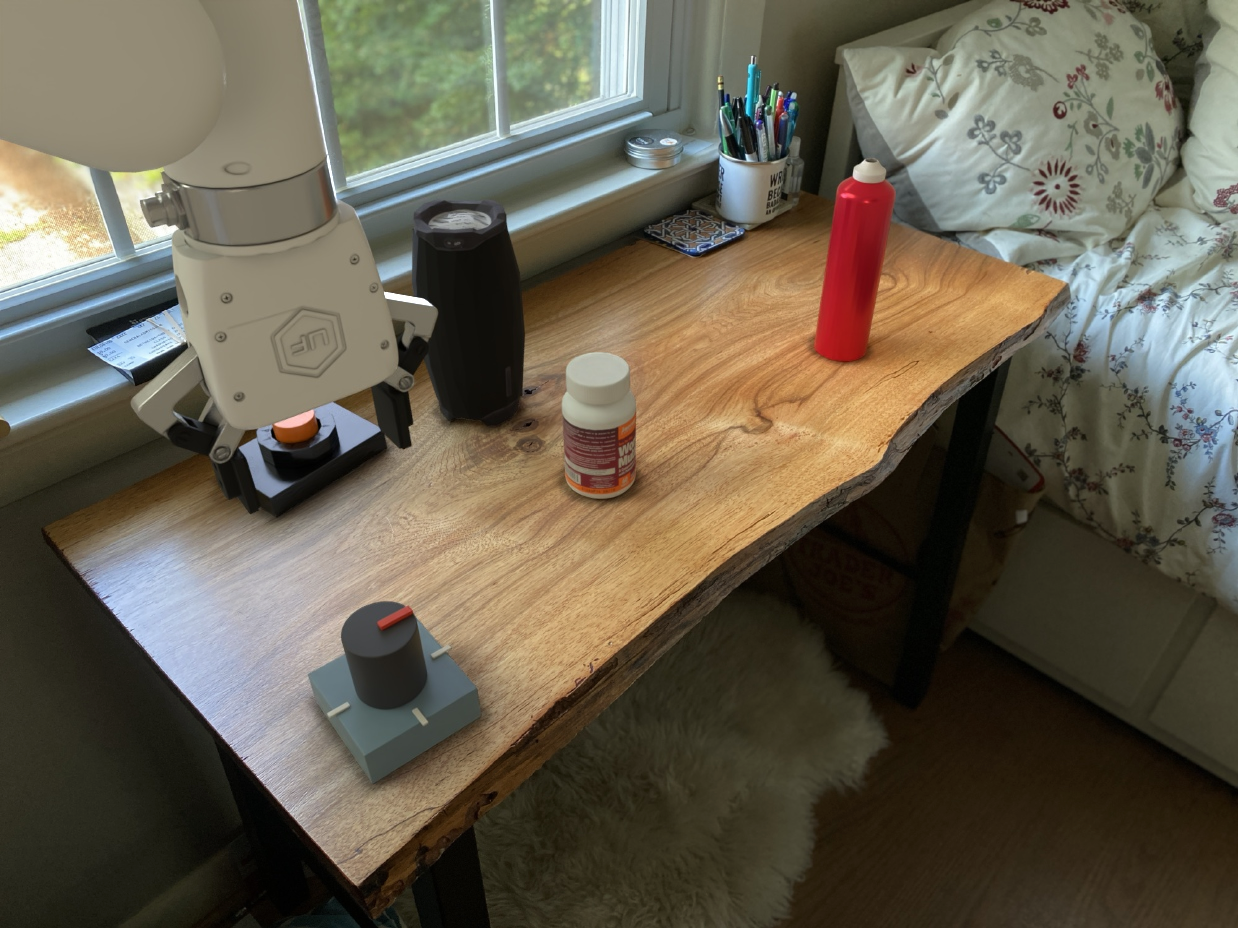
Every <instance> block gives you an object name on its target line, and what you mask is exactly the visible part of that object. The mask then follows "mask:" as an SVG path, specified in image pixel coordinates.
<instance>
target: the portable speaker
mask: <svg viewBox="0 0 1238 928" xmlns="http://www.w3.org/2000/svg"><path fill="white" fill-rule="evenodd" d="M507 217H508V216H507V213H506V211H505V208H504V205H503V204H501V203H498V202H497V201H495V200H494V199H493V200H492V199H483V200H446V199H440V198H437V199H433V200H430V201H427V202H424V203H422V205H420V206H419V207H418V208H417V209H416V210H415V211H414V212H413V219H412V220H413V228H412V231H411V232H412V233H411V234H412V236H411V237H412V239H411V240H412V241H411V254H412V255H411V286H412V292H413V297H415V298H421V299H425V300H427V301H428V302H429V303H431V304H432V305H433V306H435V307H436V308H437V309H438V316H437V319H436V322H435V326H434V329H433V332H432V335H431V338H429V340H428V344H429V351H428V353H427V355H426V356H425V358H424V359H423V361H424V365H425V367H426V370H427V373H428V377H429V379H430V382H431V386H432V388H433V391H434V394H435V398H436V399H437V400H438V407H439V411H440V413H441V414H442V415H443V416H444V418H445V419H446V420H447V422H453V421H456V420H457V419H460V420H468V421H475V422H481V423H482V424H483V425H484V426H485V427H498V426H500V425H501V424H504V423H506V422H507V421H510V420H512V419H513V418H514V416H515V415H516V414H517V413H518V411H519V409H520V408H519V407H520V403H521V402H520V401H521V397H523V389H524V369H525V368H524V367H525V366H524V365H525V345H526V328H525V317H524V306H523V305H524V303H523V293H522V281H521V272H520V268H519V264H518V260H517V257H516V254H515V250H514V249H515V248H514V246H513V243H512V239H511V236H510V232H509V228H508V222H507Z"/></svg>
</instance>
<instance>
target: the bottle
mask: <svg viewBox="0 0 1238 928" xmlns="http://www.w3.org/2000/svg"><path fill="white" fill-rule="evenodd" d="M886 176H887V170H886V168H885V167H884V166H882V164H881V162H880V161H879V160H878V159H877V158H874V157H867V158H864V159H863V160H862V161H861V162H860V163H859V164H856V165H855V166H853V171H852V175H851V176H849V177H848V178H845V179H844V180H842V181H841V182H840V183H839V184H838V186H837V188H836V193H835V200H834V207H833V213H832V221H831V227H830V234H829V241H828V248H827V253H826V260H825V267H824V275H823V280H822V289H821V295H820V300H819V301H820V302H819V310H818V314H817V321H816V329H815V336H814V343H813V347H814V350H815V352H817V353H818V354H819V355H820V356H821V357H824V358H826V359H828V360H832V361H836V362H837V361H838V362H853V361H857V360H860V359H861V358H863V357H864V356H865V355H866V353H867V351H868V345H869V340H870V335H871V330H872V324H873V320H874V315H875V309H876V303H877V298H878V293H879V286H880V283H881V277H882V271H883V267H884V262H885V261H884V260H885V255H886V251H887V245H888V239H889V234H890V230H891V229H890V228H891V223H892V218H893V213H894V207H895V202H896V197H897V192H896V188H895V187H894V186H893V184H891V183H890V182H889V181H888V180H887V179H886Z"/></svg>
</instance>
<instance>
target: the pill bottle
mask: <svg viewBox="0 0 1238 928" xmlns="http://www.w3.org/2000/svg"><path fill="white" fill-rule="evenodd" d="M565 389H566V392H565V393H564V395H563V397H562V399H561V419H562V435H563V436H562V437H563V438H562V439H563V458H564V459H563V460H564V476H565V481H566V484H567V485H568V487H569V488H570V489H571V490H573V492H575V493H577V494H578V495H581V496H583V497H586V498H591V499H596V500H597V499H600V500H601V499H605V500H606V499H611V498H615V497H618V496H621V495H622V494H624V493H625V492H627V491H628V490H629V489H630V488H631V487H632V485H634V483H635V479H636V474H637V473H636V472H637V467H636V466H637V445H636V444H637V401H636V400H637V399H636V397H635V395H634V393H633V391H632V390H631V369H630V365H629V363H628V362H627V361H626V360H625V359H624V358H623V357H621V356H618V355H617V354H613V353H610V352H605V351H604V352H603V351H595V352H594V351H593V352H586V353H583V354H580V355H578V356H576V357H573V358H572V359H571V360H570V361H569V362H568V364H567V365H566V368H565Z"/></svg>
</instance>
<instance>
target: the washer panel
mask: <svg viewBox="0 0 1238 928" xmlns="http://www.w3.org/2000/svg"><path fill="white" fill-rule="evenodd" d="M415 617H416V620H417V624H418V629H419V634H420V639H421V644H422V649H423V654H424V659H425V664H426V669H427V681H426V684H425V686H424V688H423V690H422V691H421V692H420V694H419V695H418V696H417V697H416V698H414V699H413V700H412V701H410V702H409V703H407V704H405V705H402V706H400V707H396V708H392V709H378V708H373V707H371V706H368V705H366V704H365V703H364V702H362V701H361V700H360V699H359V697H358V696H357V694H356V691H355V687H354V684H353V680H352V677H351V673H350V670H349V666H348V662H347V659H346V655H345V653H344V654H342V655H340V656H339V657H337V658H334V659H333V660H331V661H329V662H327V663H325V664H323V665H322V666H319V667H318V668H316V669H314V670H312V671H311V672H308V673H307V677H308V680H309V683H310V686H311V690H312V693H313V696H314V700H315V702H316V704H317V705H318V707H319V708H320V710H321V711H322V713H323V714H324V716H325V717H326V718H327V720H328V722H329V723H330V725H331V726H332V728H333V729H334V730H335V732H336V733H337V734H338V736H339V737H340V739H341V740H342V742H343V743H344V745H345V746H346V748H347V749H348V750H349V752H350V754H351V755H352V756H353V758H354V759H355V761H356V762H357V764H358V765H359V767H360V768H361V770H362V771H363V772H364V774H365V775H366V777H367V779H368V780H369V781H370V783H371V784H375V783H377V782H379V781H380V780H382V779H384V778H385V777H386V776H389V774H391V773H393V772H395V771H396V770H398V769H399V768H401V767H402V766H404V765H406V764H407V763H409V762H411V761H412V760H414V759H415V758H417V757H418V756H420V755H421V754H423V753H425V752H427V751H429V749H431V748H433V747H434V746H437V744H439V743H441V742H443V741H444V740H446V739H447V738H450V736H452V735H454V734H455V733H457V732H459V731H460V730H462V729H463V728H465V727H466V726H468V725H470V724H471V723H473V722H475V721H477V720H478V719H479V718H481V717H482V712H481V710H482V709H481V703H480V697H479V691H478V686H477V685H475V683H474V682H473V681H472V680H471V679H470V678H469V676H468V675H467V674H466V673H465V672H464V671H463V669H462V668H461V667H460V666H459V665H458V663H456V661H455V660H454V659H453V658H452V656H451V655H450V654H449V653H448V652H449V651H451V650H452V646H451V645H450V644H447V645H445V646H444V647H443V646H442V645H441V644H440V643H439V642H438V641H437V639H436V638H435V637H434V635H432V634H431V633H430V631H429V630H428V629H427V627H425V626H424V625H423V623H422V622H421V621H420V620H419V618H418V617H417V616H416V615H415Z"/></svg>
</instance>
